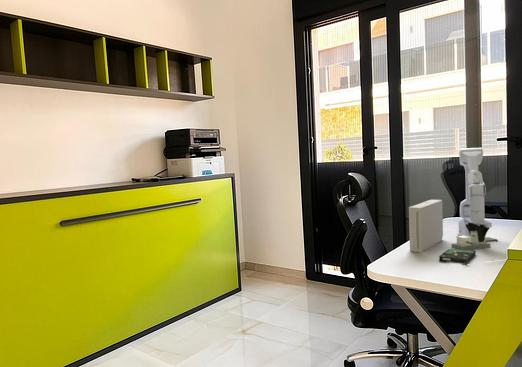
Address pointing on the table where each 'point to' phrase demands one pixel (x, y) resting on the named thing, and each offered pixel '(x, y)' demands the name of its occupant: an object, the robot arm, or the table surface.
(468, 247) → the grey double frame
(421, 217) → the game console
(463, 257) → the disk drive
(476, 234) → the block
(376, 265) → the table surface
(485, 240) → the phone
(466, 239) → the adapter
